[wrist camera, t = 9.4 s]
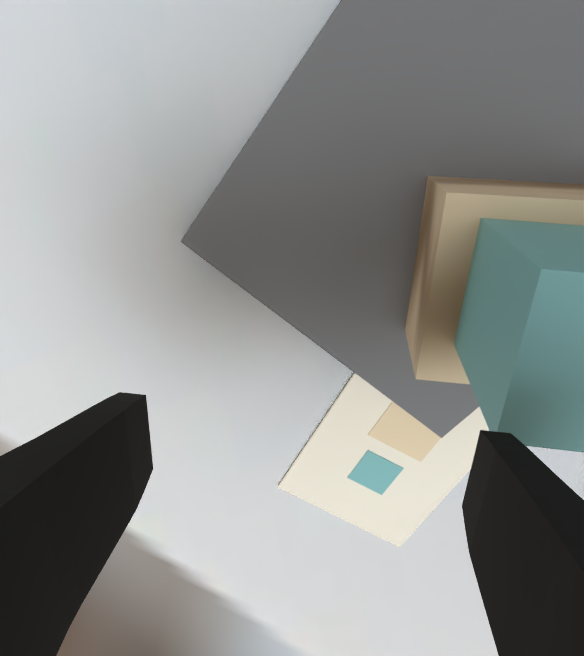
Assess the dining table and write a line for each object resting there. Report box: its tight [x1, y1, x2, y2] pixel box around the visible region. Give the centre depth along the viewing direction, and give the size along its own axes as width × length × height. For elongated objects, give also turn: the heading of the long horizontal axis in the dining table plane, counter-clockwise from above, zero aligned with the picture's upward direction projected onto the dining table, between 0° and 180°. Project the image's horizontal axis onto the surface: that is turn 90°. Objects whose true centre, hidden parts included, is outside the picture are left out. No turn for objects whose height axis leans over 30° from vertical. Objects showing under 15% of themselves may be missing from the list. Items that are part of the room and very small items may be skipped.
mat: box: [181, 0, 584, 438], centre depth 17 cm, size 20×14×1 cm
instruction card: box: [278, 373, 489, 547], centre depth 22 cm, size 10×7×1 cm
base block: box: [405, 176, 584, 384], centre depth 16 cm, size 6×6×4 cm
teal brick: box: [454, 218, 584, 452], centre depth 12 cm, size 4×4×5 cm
